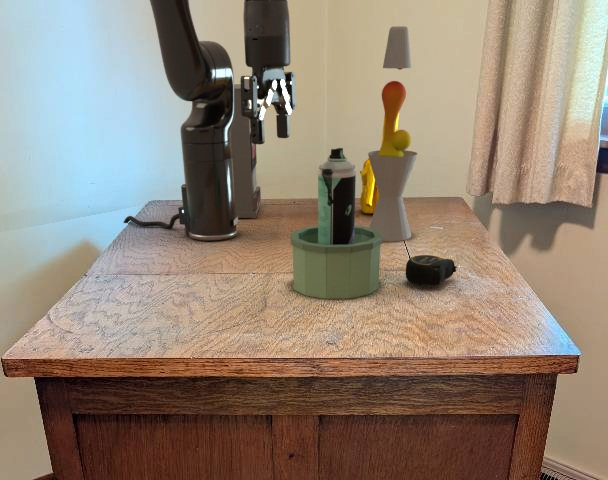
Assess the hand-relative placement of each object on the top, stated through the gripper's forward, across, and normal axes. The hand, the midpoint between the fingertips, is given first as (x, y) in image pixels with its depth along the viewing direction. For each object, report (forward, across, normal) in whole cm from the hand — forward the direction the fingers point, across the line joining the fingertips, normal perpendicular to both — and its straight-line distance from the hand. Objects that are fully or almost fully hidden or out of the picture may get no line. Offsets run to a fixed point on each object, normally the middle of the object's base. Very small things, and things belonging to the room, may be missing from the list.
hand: (271, 140), depth 125 cm
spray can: (+18, +17, +21) cm, 33 cm away
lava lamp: (+18, -16, +16) cm, 29 cm away
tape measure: (+18, +10, +34) cm, 40 cm away
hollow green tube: (+18, +17, +21) cm, 33 cm away
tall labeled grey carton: (+18, -22, -20) cm, 35 cm away
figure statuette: (+18, -34, +6) cm, 39 cm away
